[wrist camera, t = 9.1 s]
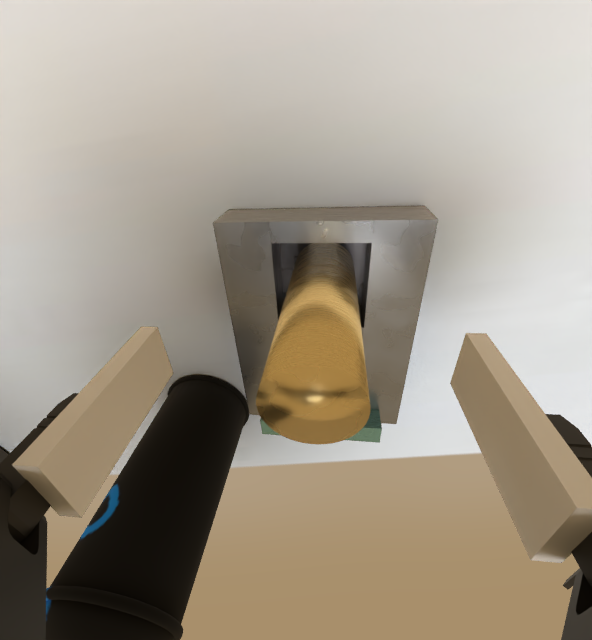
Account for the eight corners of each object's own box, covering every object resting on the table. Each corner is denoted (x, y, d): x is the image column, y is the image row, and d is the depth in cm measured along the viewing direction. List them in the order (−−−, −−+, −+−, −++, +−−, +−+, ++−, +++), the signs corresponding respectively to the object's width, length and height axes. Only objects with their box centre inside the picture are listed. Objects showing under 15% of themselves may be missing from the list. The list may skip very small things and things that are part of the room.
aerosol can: (253, 384, 28) (128, 769, 11) (246, 437, 33) (150, 767, 16) (165, 366, 28) (-86, 723, 11) (171, 422, 33) (-2, 734, 16)
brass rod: (295, 294, 22) (260, 439, 12) (293, 240, 20) (249, 362, 10) (351, 296, 22) (364, 448, 12) (356, 241, 19) (377, 369, 9)
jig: (257, 388, 28) (238, 449, 23) (228, 209, 19) (188, 242, 14) (390, 395, 27) (403, 462, 21) (424, 205, 18) (459, 240, 13)
